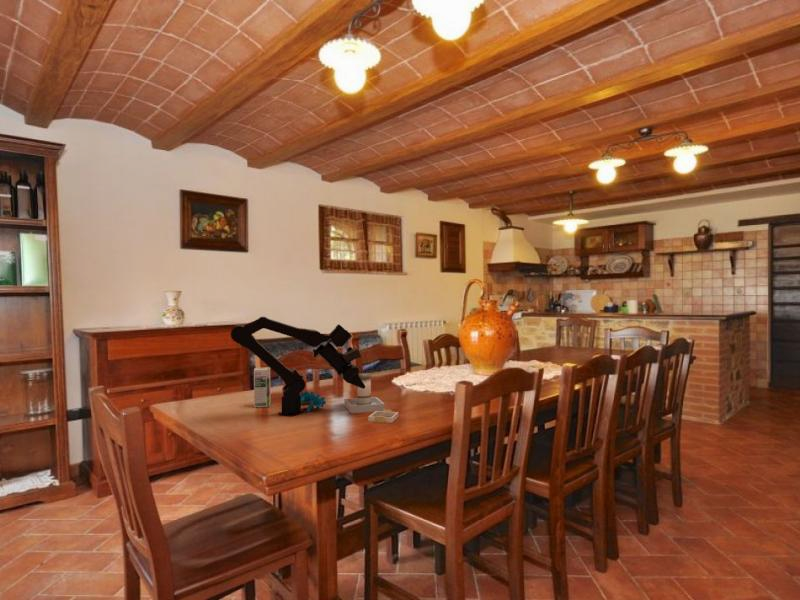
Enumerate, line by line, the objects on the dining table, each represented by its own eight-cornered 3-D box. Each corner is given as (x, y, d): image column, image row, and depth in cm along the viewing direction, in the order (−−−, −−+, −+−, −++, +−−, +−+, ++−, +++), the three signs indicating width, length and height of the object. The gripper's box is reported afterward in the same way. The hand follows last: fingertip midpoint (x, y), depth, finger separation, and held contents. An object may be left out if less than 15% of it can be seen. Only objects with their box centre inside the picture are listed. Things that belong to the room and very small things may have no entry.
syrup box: (253, 408, 175) (253, 369, 175) (255, 404, 181) (255, 367, 181) (269, 407, 176) (269, 368, 176) (270, 403, 182) (270, 366, 182)
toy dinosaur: (331, 404, 174) (318, 388, 168) (326, 418, 170) (312, 402, 164) (306, 405, 178) (292, 390, 172) (301, 419, 174) (287, 404, 168)
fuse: (371, 408, 171) (371, 375, 171) (356, 408, 171) (356, 375, 171) (371, 404, 177) (371, 373, 177) (357, 405, 177) (357, 373, 177)
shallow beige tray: (367, 421, 154) (367, 415, 154) (376, 414, 164) (376, 409, 164) (391, 423, 152) (391, 417, 152) (399, 416, 162) (398, 410, 162)
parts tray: (350, 413, 166) (350, 406, 166) (344, 405, 178) (344, 399, 178) (384, 410, 170) (384, 403, 170) (376, 403, 182) (376, 397, 182)
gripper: (353, 342, 163) (383, 373, 167) (343, 338, 181) (371, 366, 184) (330, 366, 161) (361, 396, 164) (323, 359, 179) (351, 387, 182)
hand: (361, 385), depth 174 cm, fingers open, 9 cm apart
